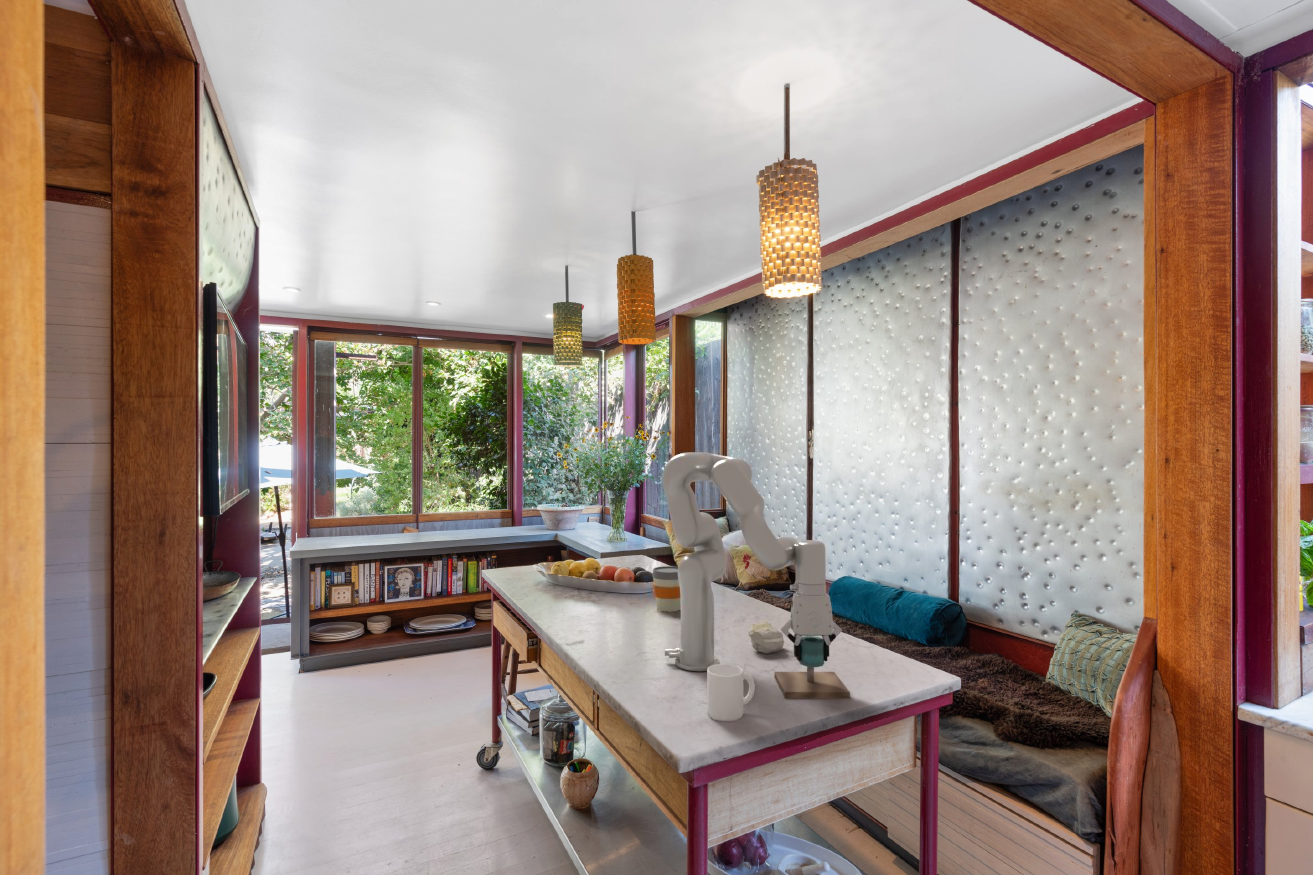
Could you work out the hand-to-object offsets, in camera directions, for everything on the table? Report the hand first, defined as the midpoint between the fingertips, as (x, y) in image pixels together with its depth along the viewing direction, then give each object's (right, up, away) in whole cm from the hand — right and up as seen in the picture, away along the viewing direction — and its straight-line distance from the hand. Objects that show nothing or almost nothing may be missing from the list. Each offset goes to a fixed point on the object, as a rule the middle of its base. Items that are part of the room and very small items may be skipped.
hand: (811, 658), depth 163 cm
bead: (0, -1, 0) cm, 1 cm away
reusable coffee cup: (-35, -8, +78) cm, 86 cm away
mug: (-22, -7, -16) cm, 28 cm away
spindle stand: (0, -7, 0) cm, 7 cm away
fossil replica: (-6, -8, +29) cm, 31 cm away
